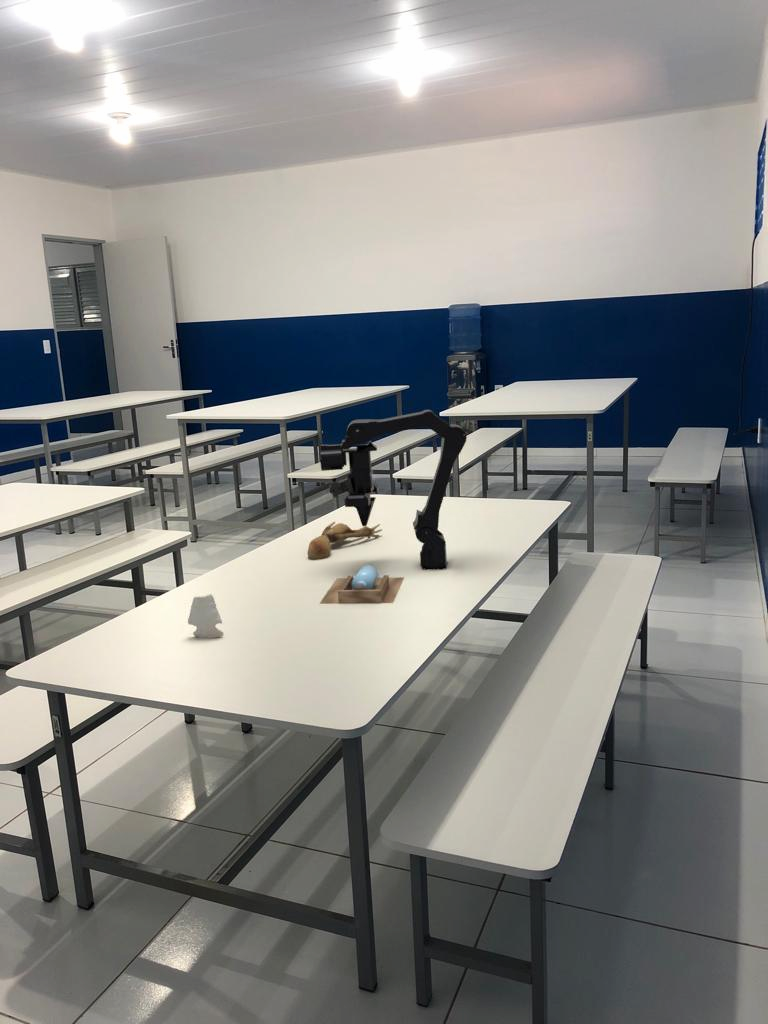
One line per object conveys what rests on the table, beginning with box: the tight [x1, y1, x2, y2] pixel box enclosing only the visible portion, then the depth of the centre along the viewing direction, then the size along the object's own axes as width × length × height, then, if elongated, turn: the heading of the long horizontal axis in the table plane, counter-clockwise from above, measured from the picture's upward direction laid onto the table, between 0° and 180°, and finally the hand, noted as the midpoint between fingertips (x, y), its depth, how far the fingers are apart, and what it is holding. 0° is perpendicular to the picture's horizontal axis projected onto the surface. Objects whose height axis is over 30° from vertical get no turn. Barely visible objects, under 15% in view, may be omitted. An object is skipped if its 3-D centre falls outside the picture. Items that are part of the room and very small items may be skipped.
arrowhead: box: [187, 593, 224, 638], centre depth 186 cm, size 8×2×10 cm, turn 81°
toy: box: [307, 521, 383, 560], centre depth 256 cm, size 17×8×30 cm
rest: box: [319, 574, 405, 605], centre depth 211 cm, size 18×20×4 cm
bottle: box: [352, 565, 379, 590], centre depth 209 cm, size 5×5×11 cm
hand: (364, 525), depth 225 cm, fingers closed
